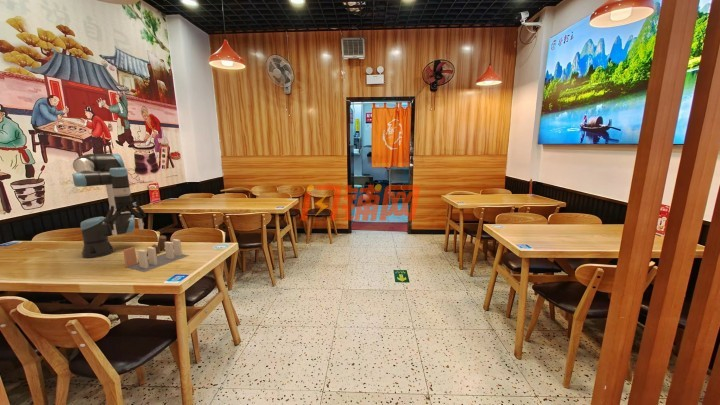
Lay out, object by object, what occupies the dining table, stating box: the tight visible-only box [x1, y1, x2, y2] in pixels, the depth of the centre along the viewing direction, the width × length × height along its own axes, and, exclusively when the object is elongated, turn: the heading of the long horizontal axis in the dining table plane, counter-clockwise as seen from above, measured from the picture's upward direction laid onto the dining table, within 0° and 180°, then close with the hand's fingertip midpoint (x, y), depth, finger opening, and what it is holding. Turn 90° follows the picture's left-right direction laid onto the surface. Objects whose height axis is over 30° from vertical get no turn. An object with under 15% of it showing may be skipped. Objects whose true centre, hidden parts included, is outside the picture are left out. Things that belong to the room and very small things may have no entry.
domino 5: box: [171, 238, 183, 256], centre depth 180 cm, size 2×5×10 cm, turn 67°
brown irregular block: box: [146, 235, 174, 257], centre depth 187 cm, size 18×9×10 cm, turn 162°
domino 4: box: [164, 241, 174, 259], centre depth 176 cm, size 2×5×10 cm, turn 67°
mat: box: [124, 252, 190, 273], centre depth 172 cm, size 18×26×1 cm
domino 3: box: [146, 246, 158, 265], centre depth 167 cm, size 2×5×10 cm, turn 67°
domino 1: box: [122, 246, 138, 267], centre depth 165 cm, size 2×5×10 cm, turn 157°
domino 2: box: [137, 249, 149, 268], centre depth 162 cm, size 2×5×10 cm, turn 67°
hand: (128, 232), depth 164 cm, fingers open, 13 cm apart
